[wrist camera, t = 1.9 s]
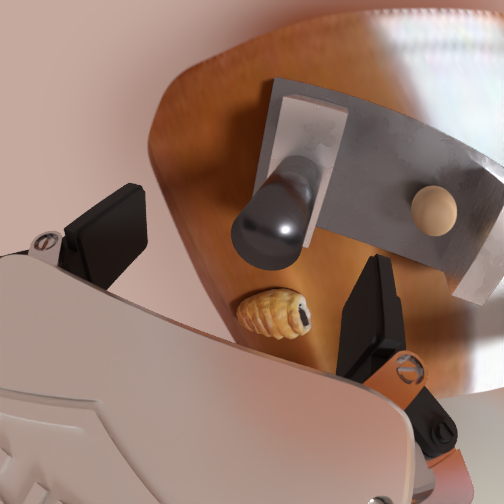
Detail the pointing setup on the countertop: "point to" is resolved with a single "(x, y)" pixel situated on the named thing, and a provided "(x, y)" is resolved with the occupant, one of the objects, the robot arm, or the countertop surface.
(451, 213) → the tan wooden ball
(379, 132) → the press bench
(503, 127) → the countertop surface
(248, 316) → the pastry
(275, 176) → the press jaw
